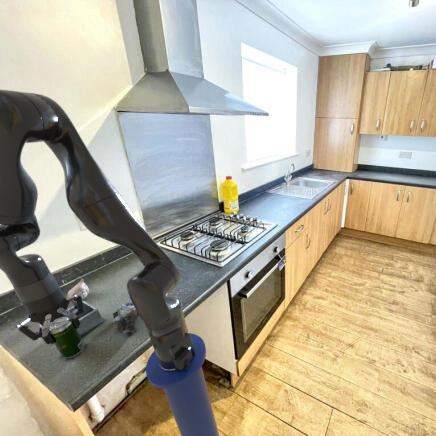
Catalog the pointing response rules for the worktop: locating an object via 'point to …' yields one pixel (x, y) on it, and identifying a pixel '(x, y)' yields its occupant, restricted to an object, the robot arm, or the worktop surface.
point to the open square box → (87, 318)
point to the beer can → (66, 337)
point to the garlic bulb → (79, 290)
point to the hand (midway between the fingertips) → (64, 334)
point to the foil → (125, 318)
